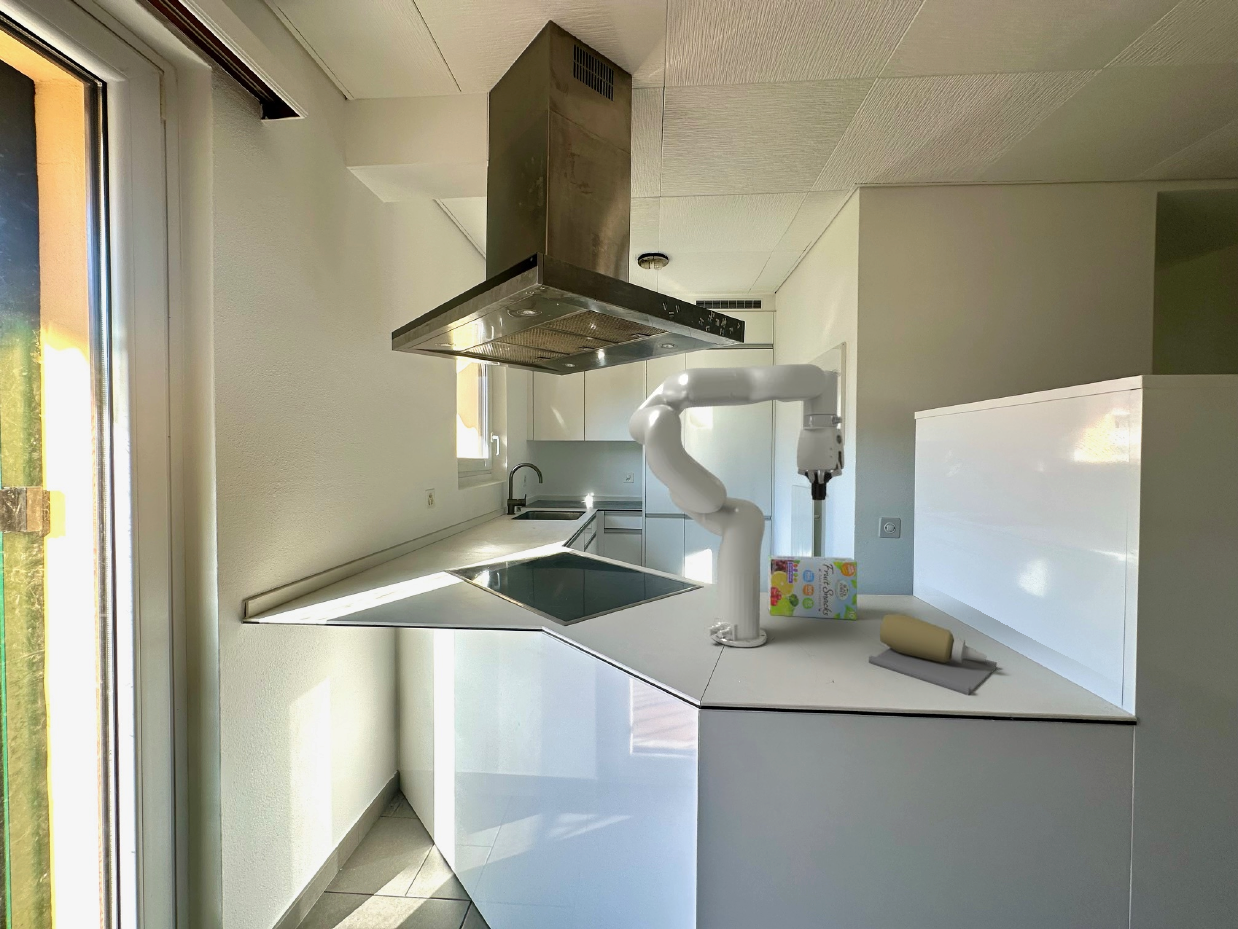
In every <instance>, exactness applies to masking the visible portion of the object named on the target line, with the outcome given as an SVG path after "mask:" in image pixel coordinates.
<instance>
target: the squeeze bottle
mask: <svg viewBox="0 0 1238 929" xmlns="http://www.w3.org/2000/svg"><path fill="white" fill-rule="evenodd" d="M879 640H880V642H881V643H883V644H884V645H886V646H887V647H889V649H890V648H892V649H894V650H895V651H897V652H898V653H902V654H907V655H911V656H915V657H920V658H924V659H928V660H933V661H937V662H941V663H946V662H948V661H949V659H950V658H951V660H952V661H954V662H958V663H962V660H963V659H968V660H976V661H984V662H986V660H987V655H986V654H984V653H982V652H980V651H978V650H976V649H974V648H972V647H969V646H968V645H966V640H965V639H962V638H959V637H954V636H953V633H952V631H950V630H949V629H946V628H943V627H940V626H938V625H936V624H932V623H930V622H927V621H924V620H922V619H919V618H916V617H914V616H911V615H908V614H906V613H905V614H904V613H903V614H901V613H900V614H898V613H896V614H895V613H894V614H893V613H891V614H888V613H887V614H885V615H884V617H883V619H882V621H881V624H880V630H879Z"/></svg>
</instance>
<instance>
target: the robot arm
mask: <svg viewBox="0 0 1238 929" xmlns="http://www.w3.org/2000/svg"><path fill="white" fill-rule="evenodd" d="M838 383H839V382H838V374H837V373H836V372H835V371H833V370H827V369H826V370H824V369H822V368H821V367H820V366H818V365H815V364H811V363H800V364H799V363H797V364H795V363H794V364H793V363H790V364H775V365H774V364H773V365H760V366H757V365H756V366H755V365H754V366H743V367H742V366H741V367H737V366H736V367H696V368H695V367H694V368H692V367H691V368H687V369H683V370H681V371H678V372H676V373H673V374H671V375H669V376H667V378H665V379H664V381H662V382H661V383H660V385H659V386H657V387H656V388H655V390H653V392H651V394H650V395H649V396H648V398H646V400H645V401H643V402H642V404H640V405H639V406H638V408H637V409H636V410H635V411H634V412H633V414H632V415H631V417H630V419H629V422H628V431H629V435H630V437H631V438H632V439H633V441H635V442H636V443H638V444H640V445H643V446H644V453H645V454H644V455H645V458H646V462H647V465H648V468H649V469H650V471H651V473H652V474H653V476H654V477H656V479H657V480H658V481H659V482H661V483H662V484H663V485H664V486H665V487H667V488H668V492H669V496H670V499H671V502H673V504H674V505H675V506H676V507H677V508H678V509H679V510H680V511H681V512H683V514H685V515H687V516H688V517H689V518H691V519H692V520H693V521H694V522H696V524H698V525H700V527H702V528H704V529H705V530H707V531H708V532H709V533H712V534H713V535H717V536H720V537H722V538H721V542H720V545H719V549H718V552H717V562H716V563H717V566H716V571H717V576H716V580H717V582H716V585H717V586H716V587H717V588H716V618H714V623H713V624H712V626H707V627H705V628H704V630H703V634H704V636H706V637H707V638H708V637H711V639H713V640H714V641H716V642H717V643H719V644H723V645H726V646H729V647H730V646H731V647H735V648H736V647H737V648H752V647H753V648H755V647H758V646H762V645H763V644H765V643H766V641H767V638H768V635H767V633H766V631H764V629H763V628H760V620H761V619H760V616H761V614H760V612H761V551H762V544H763V539H764V534H765V529H766V519H765V515H764V513H763V511H762V510H761V508H760V507H759V506H758V505H757V504H756V503H754V502H752V501H750V500H747V499H743V498H737V497H729V496H728V492H727V489H726V486H725V484H724V483H723V482H722V481H721V480H720V478H718V477H717V476H716V475H715V474H713V473H712V472H710V471H709V470H708V469H707V468H705V467H704V466H703V465H702V464H700V463H699V462H698V460H696V459H695V458H693V457H692V456H691V455H690V454H689V452H687V451H686V449H685V447H684V445H683V441H682V420H681V417H680V415H681V414H682V412H684V410H686V409H691V408H704V407H705V408H706V407H729V406H730V407H731V406H732V407H733V406H745V405H747V406H748V405H754V404H757V403H758V404H759V403H763V402H768V401H778V402H780V403H781V402H782V403H791V402H792V403H793V402H803V404H802V405H803V406H802V407H803V409H802V412H803V413H802V416H803V418H802V427H803V428H802V429H800V431H799V432H800V433H799V437H798V440H797V441H798V443H797V450H796V466H797V474H798V475H801V476H803V477H804V476H805V478H806V479H807V480H808V482H809V483H810V485H811V487H810V488H811V490H810V493H811V494H810V495H811V500H812V501H825V500H826V498H827V487H828V485H827V484H828V483H830V482H829V481H831V480H832V479H833V478H834V477H835V478H836V477H840V476H842V475H843V469H844V468H845V448H844V440H843V435H842V434H843V433H842V429H841V428H838V424H842V423H843V418H842V417H840V416H839V415H838V385H839V384H838Z"/></svg>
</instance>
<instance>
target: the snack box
mask: <svg viewBox="0 0 1238 929" xmlns="http://www.w3.org/2000/svg"><path fill="white" fill-rule="evenodd" d="M857 601H858V562H857V561H856V560H854V559H853V558H852V557H831V556H805V555H803V556H802V555H801V556H800V555H799V556H798V555H776V554H775V555H772V554H770V555H768V556H767V609H768V612H769V614H770V615H771V616H784V617H802V618H816V619H820V618H821V619H833V620H834V619H836V620H850V621H851V620H853V621H856V620H857V617H858V616H857V614H858V613H857V612H858V602H857Z"/></svg>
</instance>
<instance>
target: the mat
mask: <svg viewBox="0 0 1238 929" xmlns="http://www.w3.org/2000/svg"><path fill="white" fill-rule="evenodd" d="M868 663H869V664H872V665H875V666H878V667H880V668H884V669H888V670H890V671H893V672H895V673H896V672H897V673H899V674H903V675H905V676H908V677H911V678H915V679H918V680H921V681H924V682H926V683H930V684H933V685H937V686H939V687H942V688H944V689H948V690H951V691H955V692H957V693H961V694H965V695H967V694H968V696H969V695H971V693H972V692H973V691H974V690H976V689H977V688H978V687H979V686H980V685H981V684H982V683H983V682H984V681H985V680H986V679H987V678H988V677H989V676H990V675H991V674H992V673H993V672H994V671H995V670H996V669H997V666H998V665H997V662H996V661H992V660H989V659H986V662H984V661H976V660H968V659H963V660H962V663H958V662H954V661H952V660H951V658H950V659H949V661H948V662H946V663H941V662H937V661H933V660H928V659H924V658H920V657H915V656H911V655H907V654H902V653H898V652H897V651H895V650H894V649H892V648H890V647H889V648H888V649H886V650H885V651H883V652H881V653H879V654H877V655H876V656H873V655H869V657H868ZM994 669H995V670H994ZM993 670H994V671H993ZM992 671H993V672H992ZM991 672H992V673H991ZM990 673H991V674H990ZM989 674H990V675H989ZM988 675H989V676H988ZM987 676H988V677H987ZM986 677H987V678H986ZM985 678H986V679H985ZM984 679H985V680H984ZM983 680H984V681H983ZM982 681H983V682H982ZM981 682H982V683H981ZM980 683H981V684H980ZM979 684H980V685H979ZM978 685H979V686H978ZM977 686H978V687H977Z"/></svg>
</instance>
